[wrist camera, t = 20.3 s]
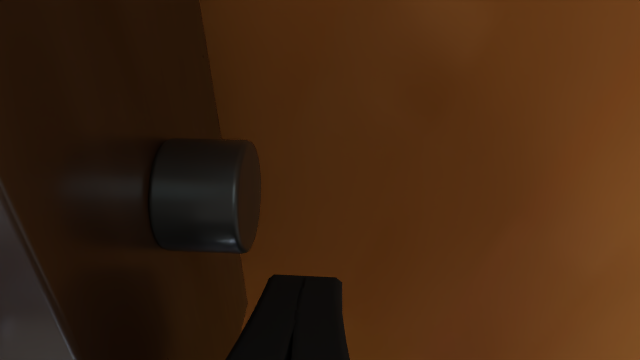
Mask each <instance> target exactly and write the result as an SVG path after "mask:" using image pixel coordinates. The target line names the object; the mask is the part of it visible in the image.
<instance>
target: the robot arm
mask: <svg viewBox="0 0 640 360" xmlns="http://www.w3.org/2000/svg"><path fill="white" fill-rule="evenodd" d="M225 360H350V358H349V353H348V348H347V343H346V337H345V330H344V324H343V315H342V282H341V281H340V280H338V279H337V278H335V277H314V276H294V275H273V276H272V277H270V278H269V279H268V281H267V284H266V286H265V288H264V290H263V293H262V295H261V297H260V299H259V301H258V303H257V305H256V307H255V309H254V311H253V313H252V314H251V316H250V318H249V320H248V322H247V324H246V325H245V327H244V329H243V331H242V333H241V334H240V336H239V338H238V340H237V341H236V343H235V344H234V346H233V348H232V349H231V351H230V353H229V354H228V356H227V358H226V359H225Z"/></svg>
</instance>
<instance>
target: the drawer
mask: <svg viewBox="0 0 640 360" xmlns="http://www.w3.org/2000/svg"><path fill="white" fill-rule="evenodd" d="M260 201H261V177H260V165H259V159H258V155H257V152H256V149H255V146H254V144H253V143H252V142H250V141H248V140H225V139H221V133H220V127H219V121H218V115H217V109H216V102H215V96H214V90H213V84H212V78H211V71H210V65H209V59H208V53H207V47H206V40H205V34H204V28H203V22H202V16H201V9H200V3H199V0H0V360H225V359H226V358H227V356H228V354H229V353H230V351H231V349H232V348H233V346H234V344H235V343H236V341H237V340H238V338H239V336H240V333H241V329H242V325H243V321H244V317H245V313H246V309H247V305H248V301H247V295H246V288H245V282H244V276H243V270H242V264H241V257H240V254H243V253H246V252H248V251H249V250H250V248H251V246H252V244H253V242H254V239H255V236H256V232H257V227H258V221H259V213H260Z"/></svg>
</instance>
